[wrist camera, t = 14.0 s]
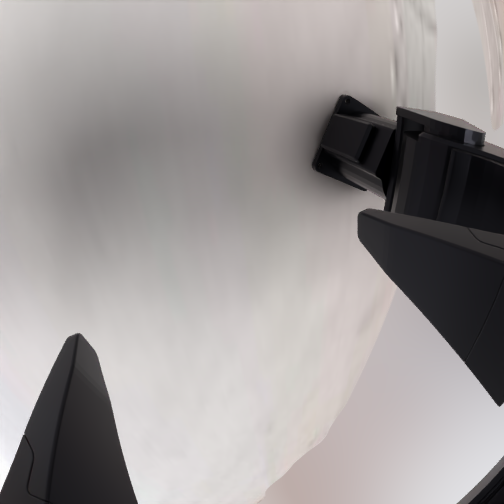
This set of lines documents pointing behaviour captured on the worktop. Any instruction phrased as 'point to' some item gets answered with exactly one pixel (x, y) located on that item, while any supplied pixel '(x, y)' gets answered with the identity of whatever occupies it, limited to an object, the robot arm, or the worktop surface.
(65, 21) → the worktop surface
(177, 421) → the worktop surface
